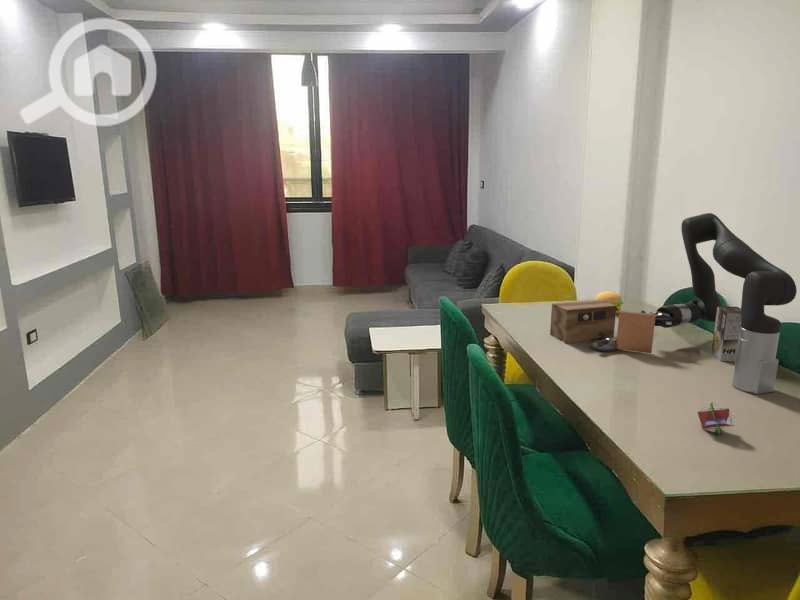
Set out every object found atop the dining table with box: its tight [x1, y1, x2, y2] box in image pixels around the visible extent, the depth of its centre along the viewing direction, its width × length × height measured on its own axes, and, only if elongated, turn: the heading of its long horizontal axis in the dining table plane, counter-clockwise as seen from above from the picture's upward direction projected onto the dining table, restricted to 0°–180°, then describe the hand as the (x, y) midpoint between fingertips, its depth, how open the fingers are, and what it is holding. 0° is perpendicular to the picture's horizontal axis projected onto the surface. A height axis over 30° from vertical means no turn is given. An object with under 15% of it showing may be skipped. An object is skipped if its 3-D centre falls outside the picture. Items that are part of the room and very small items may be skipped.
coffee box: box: [711, 306, 741, 363], centre depth 179 cm, size 9×6×16 cm
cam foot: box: [589, 310, 656, 354], centre depth 186 cm, size 20×14×13 cm
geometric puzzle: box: [697, 401, 735, 437], centre depth 131 cm, size 7×7×8 cm
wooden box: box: [549, 299, 616, 344], centre depth 201 cm, size 12×20×12 cm, turn 106°
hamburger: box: [593, 290, 624, 314], centre depth 236 cm, size 12×12×9 cm
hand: (637, 321), depth 185 cm, fingers closed
